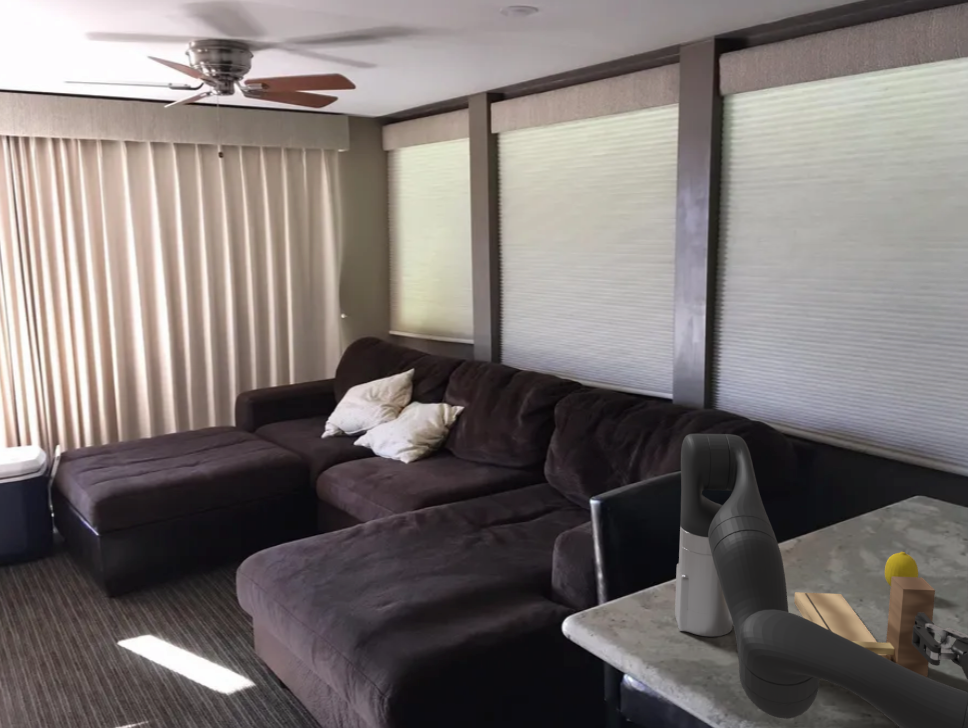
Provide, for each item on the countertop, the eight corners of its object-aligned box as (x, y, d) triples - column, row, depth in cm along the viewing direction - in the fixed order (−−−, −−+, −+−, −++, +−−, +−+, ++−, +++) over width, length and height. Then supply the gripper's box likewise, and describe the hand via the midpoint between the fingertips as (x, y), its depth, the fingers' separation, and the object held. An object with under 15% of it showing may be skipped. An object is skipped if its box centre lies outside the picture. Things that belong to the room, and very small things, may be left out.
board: (841, 679, 124) (842, 666, 124) (794, 602, 149) (795, 591, 149) (897, 682, 123) (898, 669, 123) (840, 604, 149) (841, 593, 148)
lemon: (898, 601, 150) (901, 559, 149) (876, 588, 155) (879, 548, 154) (923, 597, 151) (927, 555, 150) (900, 585, 157) (904, 544, 155)
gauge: (842, 674, 126) (848, 587, 123) (833, 658, 130) (839, 574, 128) (927, 678, 124) (935, 590, 122) (914, 662, 129) (922, 577, 127)
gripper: (947, 710, 99) (895, 642, 115) (1074, 717, 98) (1004, 647, 114) (953, 652, 98) (900, 592, 114) (1082, 658, 96) (1010, 596, 112)
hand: (952, 620), depth 114 cm, fingers open, 8 cm apart
